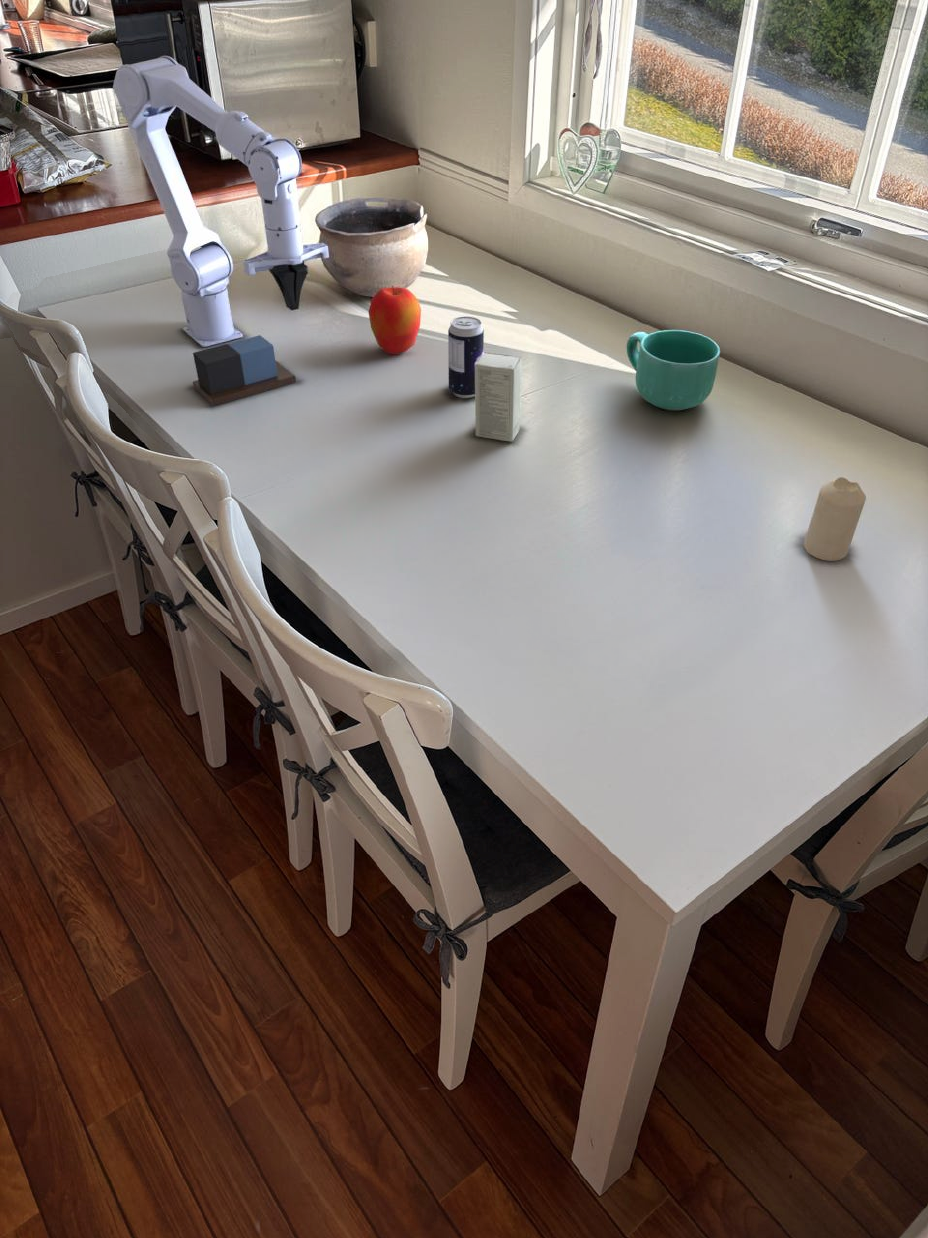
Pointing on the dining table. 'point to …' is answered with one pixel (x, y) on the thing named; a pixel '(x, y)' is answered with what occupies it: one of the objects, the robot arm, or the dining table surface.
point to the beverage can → (464, 354)
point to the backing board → (248, 387)
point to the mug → (673, 367)
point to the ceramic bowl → (373, 243)
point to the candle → (834, 519)
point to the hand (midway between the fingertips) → (292, 307)
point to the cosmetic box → (497, 396)
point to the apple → (395, 319)
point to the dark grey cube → (219, 369)
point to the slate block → (256, 359)
